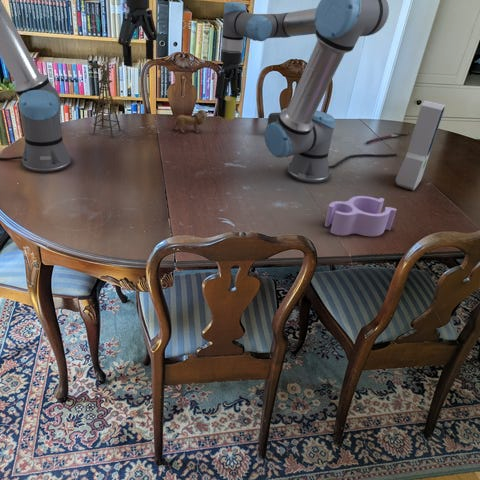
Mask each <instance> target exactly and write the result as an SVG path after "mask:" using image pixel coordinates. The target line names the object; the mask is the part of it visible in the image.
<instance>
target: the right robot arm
mask: <svg viewBox="0 0 480 480" xmlns="http://www.w3.org/2000/svg"><path fill="white" fill-rule="evenodd" d="M389 6H390V5H389V2H388V0H319V2H318V4H317V6H316V7H314V8H309V9H308V8H307V9H302V10H295V11H290V12H289V11H288V12H282V13H253V12H252V13H251V12H248V11H247V5H246V4H245V3H243V2H239V1H238V2H237V1H227V2H225V4H224V8H223V14H222V33H221V51H220V62H221V63H222V66H221V69H220V70H219V69H217V70H216V83H215V92H214V99H217V100H218V102H217V103H218V104H217V107H218V108H217V117H218V116H220V117H223V118H224V117H225V108H226V100H225V96H227V93H228V92H227V91H228V88H229V86H230V93H231V94H230V95H229V96H232V97H235V98H236V103H237V100H238V97H240V95H241V93H242V82H243V81H242V79H243V78H242V77H243V70H244V67H243V66H242V65H240V64H241V63H242V59H243V58H242V57H243V50H244V49H243V48H244V38H246V39H250V40H252V41H253V42H254V41H255V42H256V41H257V42H265V41H266V40H267V39H280V38H282V39H285V38H292V37H298V36H299V37H300V36H309V35H315V38H316V39H317V41H316V43H315V45H314V48H313V50H312V52H311V54H310V57H309V59H308V61H307V63H306V65H305V68H304V69H303V72H302V74H301V77H300V79H299V81H298V84H297V86H296V87H295V90H294V92H293V94H292V97H291V99H290V101H289V103H288V105H287V107H285V108H283V109H281V111H280V112H279V113H280V114H279V116H278V119H277V121H276V122H272V123H270V124H269V125H268V126H267V125H266V127H265V129H264V134H263V135H264V142H265V146H266V148H267V149H268V151H269V152H270V153H271V155H273V156H274V157H276V158H288V157H291V156H293V157H292V159H291V160H290V161H291V162H289V164H288V165H287V174H288V175H289V176H290V177H291V178H292V179H294V180H297V181H299V182H304V183H307V184H321V183H324V182H326V181H328V180H329V178H330V169H331V168H335V167H338V166H340V164H342V163H343V162H345V161H346V160H348V159H350V158H355V157H394V156H395V157H397V155H398V154H397V153H381V154H380V153H379V154H377V153H375V154H374V153H361V154H351V155H347V156H345V157H344V158H343V159H341V160H340V161H338V162H337V163H335V164H332V165H329V153H330V147H331V144H332V138H333V134H334V130H335V123H336V119H335V118H334V116H333V115H331V114H329V113H327V112H323V111H320V110H318V109H319V106H320V104H321V103H322V100H323V98H324V96H325V94H326V91H327V90H328V88H329V86H330V84H331V82H332V80H333V78H334V76H335V74H336V72H337V70H338V68H339V66H340V64H341V63H342V61H343V58H344V57H345V54H347V53H350V52H353V50H354V48H355V47H356V45H357V43H358V40H359V39H360V37H369V36H372V35H375V34H377V33H378V32H380V31H381V30H382V29H383V28H384V26H385V25H386V23H387V21H388V18H389V15H390V8H389ZM229 84H230V85H229ZM222 96H223V97H222ZM236 112H237V109H236V110H235V113H236Z"/></svg>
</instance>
